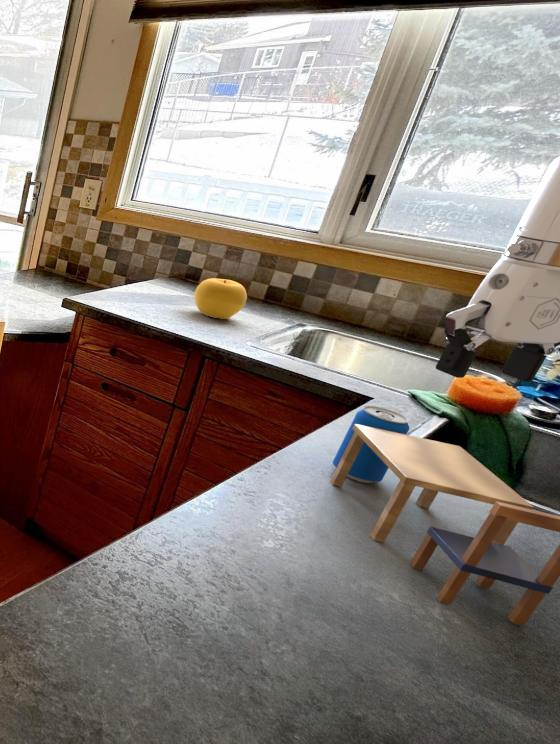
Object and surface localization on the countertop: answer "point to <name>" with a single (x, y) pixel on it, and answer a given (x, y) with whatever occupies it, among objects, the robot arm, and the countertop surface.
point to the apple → (220, 298)
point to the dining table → (427, 475)
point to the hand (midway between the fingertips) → (482, 375)
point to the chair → (494, 558)
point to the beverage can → (367, 461)
